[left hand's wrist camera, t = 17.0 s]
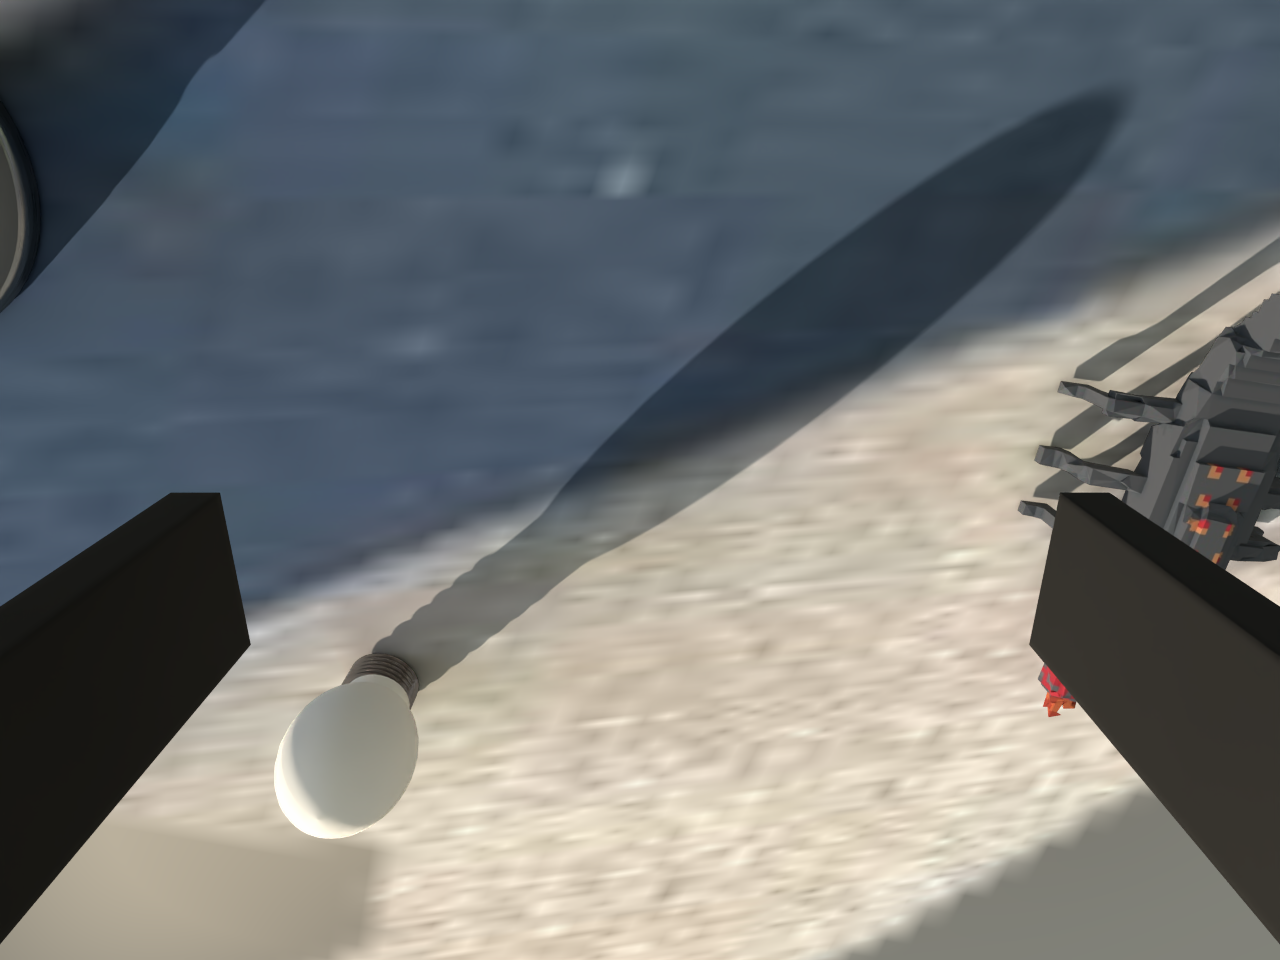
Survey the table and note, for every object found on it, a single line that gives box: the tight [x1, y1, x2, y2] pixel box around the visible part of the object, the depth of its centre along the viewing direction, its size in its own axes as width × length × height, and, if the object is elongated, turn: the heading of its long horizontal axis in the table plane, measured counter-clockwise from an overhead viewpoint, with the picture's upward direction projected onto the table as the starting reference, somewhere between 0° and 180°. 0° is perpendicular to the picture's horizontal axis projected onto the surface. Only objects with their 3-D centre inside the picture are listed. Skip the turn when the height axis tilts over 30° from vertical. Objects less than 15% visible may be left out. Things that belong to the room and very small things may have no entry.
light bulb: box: [274, 654, 419, 838], centre depth 42 cm, size 7×7×11 cm
